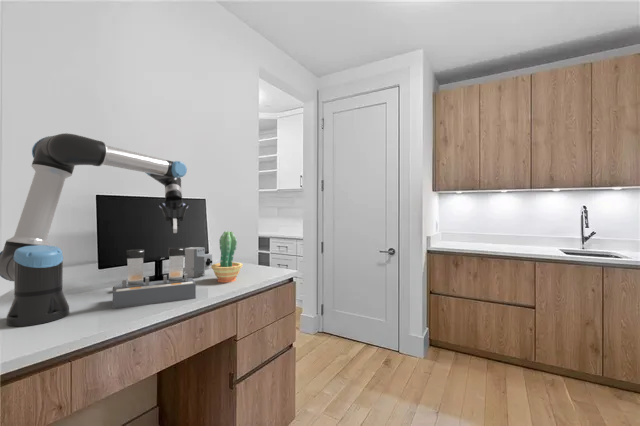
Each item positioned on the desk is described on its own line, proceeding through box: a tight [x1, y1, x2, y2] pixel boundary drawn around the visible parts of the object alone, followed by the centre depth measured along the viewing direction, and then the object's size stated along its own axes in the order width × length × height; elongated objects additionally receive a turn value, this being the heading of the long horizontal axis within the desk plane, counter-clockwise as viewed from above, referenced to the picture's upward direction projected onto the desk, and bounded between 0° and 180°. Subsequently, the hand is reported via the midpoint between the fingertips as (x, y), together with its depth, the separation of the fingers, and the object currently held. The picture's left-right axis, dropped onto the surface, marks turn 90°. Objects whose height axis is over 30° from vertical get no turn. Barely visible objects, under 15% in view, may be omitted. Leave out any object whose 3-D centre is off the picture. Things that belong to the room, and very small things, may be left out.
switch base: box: [112, 273, 197, 310], centre depth 122 cm, size 28×12×9 cm, turn 119°
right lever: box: [168, 247, 186, 282], centre depth 122 cm, size 6×3×15 cm, turn 119°
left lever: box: [125, 249, 145, 286], centre depth 115 cm, size 6×3×15 cm, turn 119°
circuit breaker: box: [183, 246, 214, 278], centre depth 165 cm, size 8×14×15 cm, turn 78°
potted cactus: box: [211, 230, 244, 283], centre depth 155 cm, size 16×16×25 cm
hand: (175, 231), depth 137 cm, fingers closed
